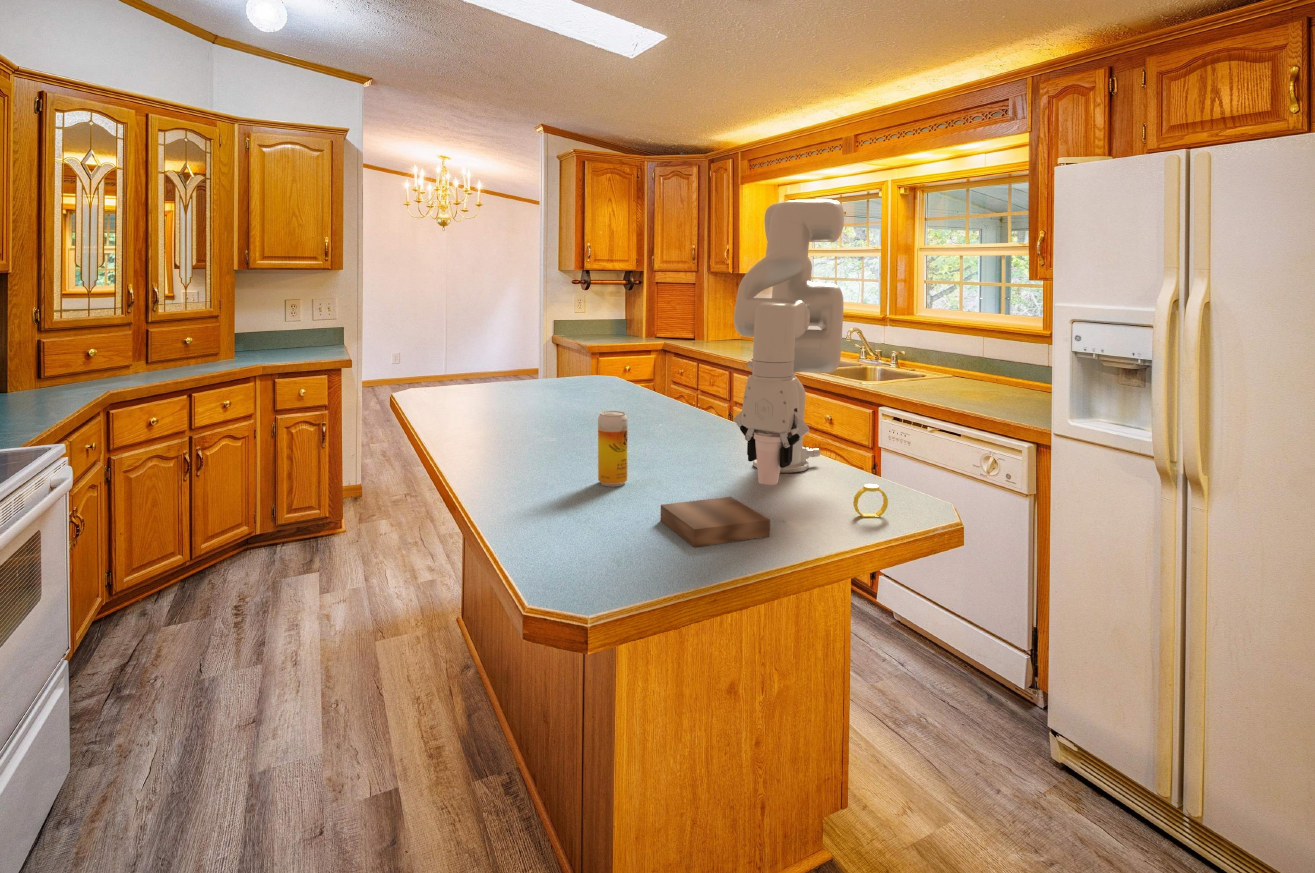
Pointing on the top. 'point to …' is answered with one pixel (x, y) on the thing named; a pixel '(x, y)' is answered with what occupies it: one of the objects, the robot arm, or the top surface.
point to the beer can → (612, 448)
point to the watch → (872, 488)
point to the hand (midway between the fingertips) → (769, 462)
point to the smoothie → (768, 456)
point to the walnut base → (714, 521)
